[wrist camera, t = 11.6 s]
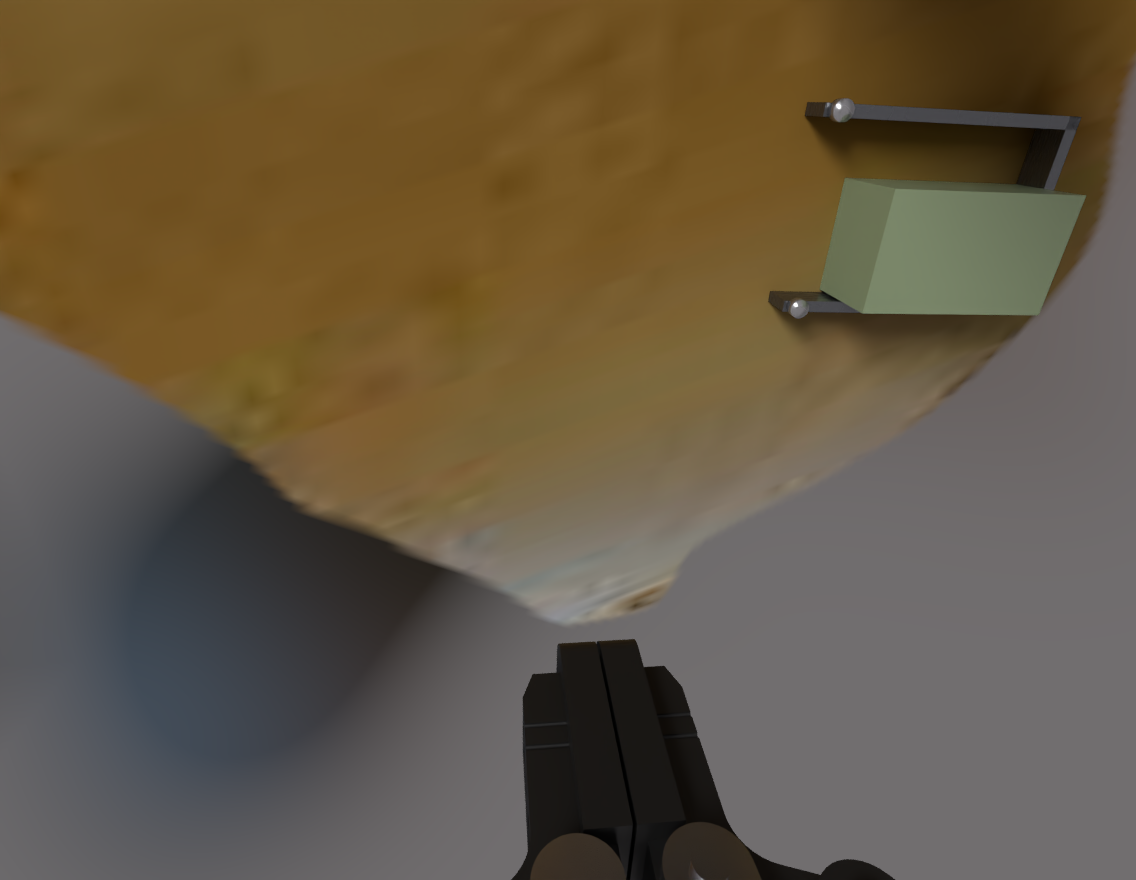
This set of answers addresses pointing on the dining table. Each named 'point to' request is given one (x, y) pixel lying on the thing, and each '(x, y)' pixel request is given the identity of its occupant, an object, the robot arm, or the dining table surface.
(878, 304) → the pale green block
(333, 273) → the dining table surface
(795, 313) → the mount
